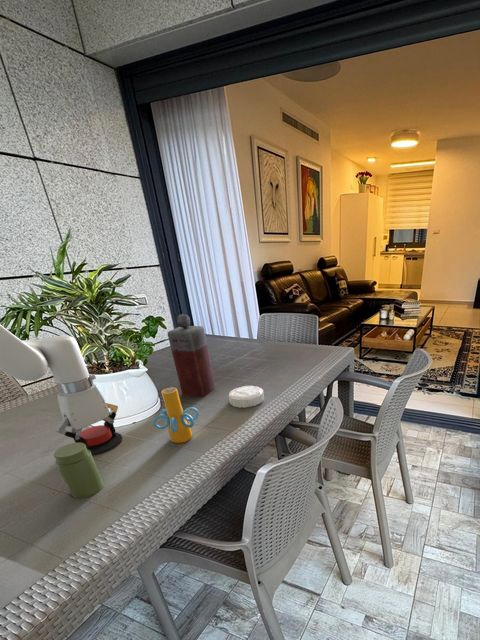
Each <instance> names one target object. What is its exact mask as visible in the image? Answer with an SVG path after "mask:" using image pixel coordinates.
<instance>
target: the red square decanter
mask: <svg viewBox="0 0 480 640" xmlns="http://www.w3.org/2000/svg"><path fill="white" fill-rule="evenodd" d="M176 322H177V324H178V325H177V327H175V328H174V329H171V330H169V331H167V339H168V343H169V346H170V351H171V354H172V358H173V363H174V365H175V366H174V367H175V372H176V375H177V379H178V383H179V387H180V390H181V395H182V396H184V397H185V396H186V397H200V398H205V397H206V396H207V395H208V394H210V393H211V392H212V391H214V390H215V389H216V388H217V387H216V382H215V378H214V372H213V366H212V361H211V357H210V352H209V347H208V346H209V345H208V341H207V336H206V331H205V328H204V326H202V325H191V319H190V316H189V315H188V314H179V315H178V316H177V321H176Z"/></svg>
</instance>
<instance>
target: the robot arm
mask: <svg viewBox="0 0 480 640" xmlns="http://www.w3.org/2000/svg"><path fill="white" fill-rule="evenodd" d="M48 369H49V370H50V372H51V374H52V377H53V379H54V381H55V384H56V386H57V388H58V391H59V392H58V393H57V394H56V397H57V403H58V407H59V411H60V413H61V417H62V420H61V421H60V422H59V424H58V425H57V426H56V428H55V432H57V433H59V434H60V435H62V436H65V437H68V438H71V439H73V441H74V443H84V444H85V445H86V443H85V441H84V439H83V438H82V437H81V432H82V431H83V429H85V428H88V427H89V426H92V425H94V424H96V423H99V422H101V421H103V425H105V426H108V427H109V428H110V429H111V432H112V437H115V436H116V434H115V432H117V431H116V428H115V426H114V423H115V418H116V417H117V412H118V409H119V406H118V405H116V404H113V403H108V402H106V400H105V398H104V396H103V394H102V392H101V390H100V389H99V388H98V386H97V385H96V384H95V383H94V380H96V378H97V377H96V374H94V373H92V374H90V373H89V370H88V368H87V365H86V362H85V360H84V357H83V355H82V352H81V348H80V346H79V344H78V342H77V339H75V337H73V336H71V335H55V336H49V337H47V338H44V339H27V340H25V339H24V340H21V338H19V337H18V336H16V335H14V334H13V333H12V332H11V331H10V330H8V329H7V328H5V326H3V325H2V324H1V323H0V370H1V371H2V372H4V373H5V374H7V375H8V376H11V377H12V378H14V379H17V380H20V381H24V382H33V381H38V380H40V379H41V378H43V377H44V376H45V375H46V373H47V372H48ZM109 409H110V410H109ZM67 427H69V428H70V431H69V430H66V428H67ZM86 447H87V446H86ZM87 449H88V448H87Z"/></svg>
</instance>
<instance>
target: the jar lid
mask: <svg viewBox="0 0 480 640" xmlns="http://www.w3.org/2000/svg"><path fill="white" fill-rule="evenodd" d="M81 437H82V438H83V439H84V441H85V443H86V446H94V445H98V444H101V443H104V442H106V441H108V440H109V439H110V438H111V437H112V432H111V429H110V428H109V427H108V426H105V425H104V424H103V425H102V424H100V425H94V426H91V427H87V428H86V429H85V428H84V430H82V431H81Z"/></svg>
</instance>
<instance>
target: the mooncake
mask: <svg viewBox="0 0 480 640" xmlns="http://www.w3.org/2000/svg"><path fill="white" fill-rule="evenodd" d="M264 394H265V393H264V389H262V387H259V386H254V385H243V386H239V387H236V388H234V389H232V390H230V391H229V393H228V397H227V398H228V401H229V404H230V405H231V407H235V408H239V409H242V408H243V409H246V408H252V407H257V406H258V405H260V404H261V403H263V402H264V400H265V395H264Z"/></svg>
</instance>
